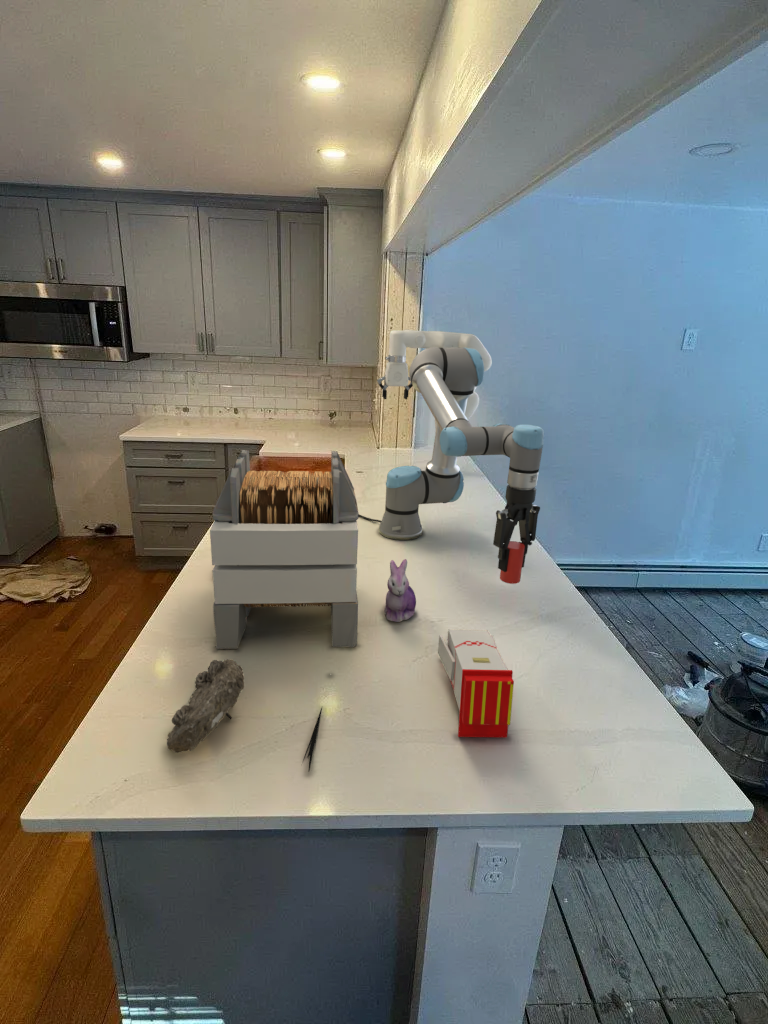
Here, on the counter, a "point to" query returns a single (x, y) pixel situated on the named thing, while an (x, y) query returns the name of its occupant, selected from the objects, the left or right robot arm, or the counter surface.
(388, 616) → the figurine
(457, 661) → the toy
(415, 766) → the counter surface
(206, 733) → the fossil
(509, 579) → the can
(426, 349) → the left robot arm
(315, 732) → the feather
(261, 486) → the grey record storage rack
